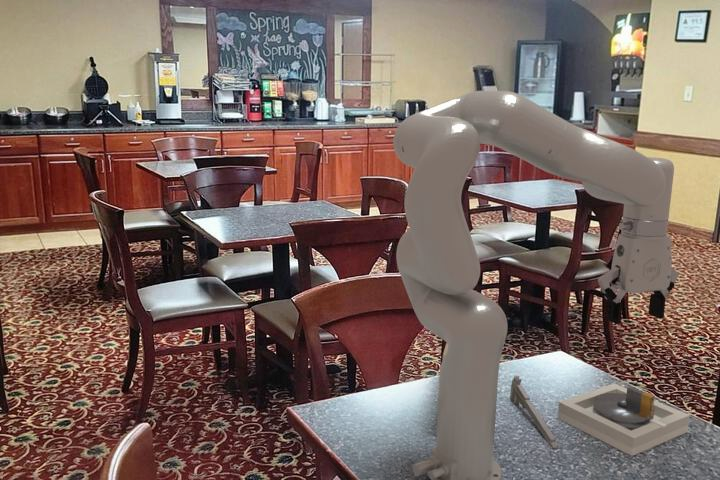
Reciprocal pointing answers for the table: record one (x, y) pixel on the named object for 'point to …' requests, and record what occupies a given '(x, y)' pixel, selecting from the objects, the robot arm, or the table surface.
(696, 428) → the table surface
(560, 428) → the table surface
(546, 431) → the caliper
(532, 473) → the table surface
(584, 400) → the tray
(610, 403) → the grey round piece
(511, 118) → the robot arm
